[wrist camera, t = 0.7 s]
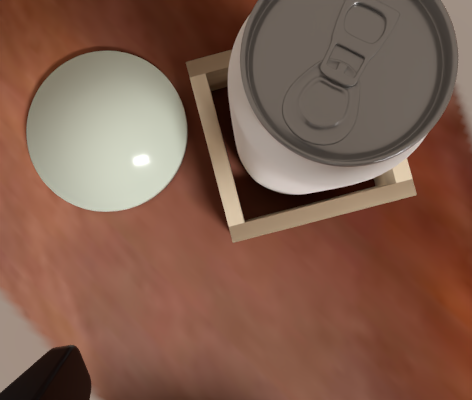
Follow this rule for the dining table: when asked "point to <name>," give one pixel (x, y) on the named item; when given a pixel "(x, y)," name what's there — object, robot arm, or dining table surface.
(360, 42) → the can
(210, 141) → the holder
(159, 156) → the pale green flat disc
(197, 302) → the dining table surface
